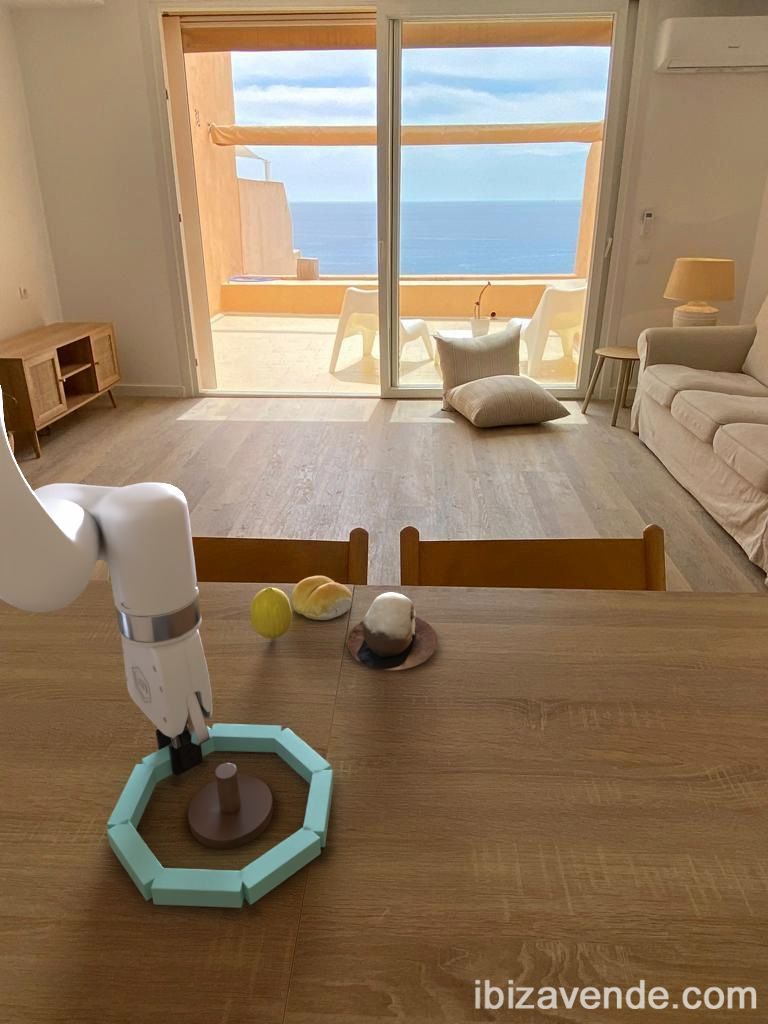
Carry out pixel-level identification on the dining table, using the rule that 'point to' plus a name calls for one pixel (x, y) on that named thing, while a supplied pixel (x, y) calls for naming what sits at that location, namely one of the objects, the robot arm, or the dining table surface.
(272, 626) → the lemon
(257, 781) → the post
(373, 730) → the dining table surface
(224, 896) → the ring
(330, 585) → the bread roll
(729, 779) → the dining table surface
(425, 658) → the iced cupcake on saucer
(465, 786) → the dining table surface
